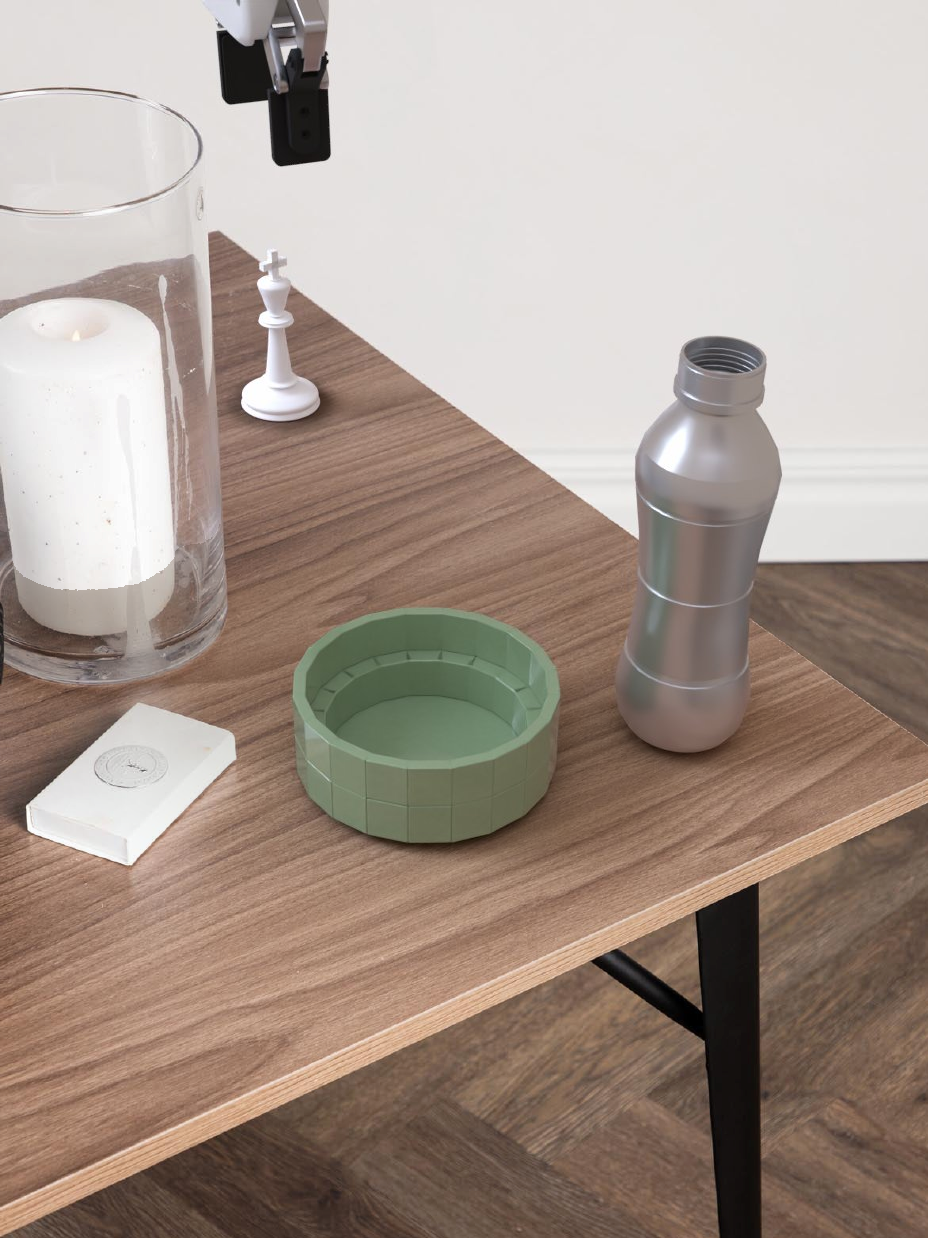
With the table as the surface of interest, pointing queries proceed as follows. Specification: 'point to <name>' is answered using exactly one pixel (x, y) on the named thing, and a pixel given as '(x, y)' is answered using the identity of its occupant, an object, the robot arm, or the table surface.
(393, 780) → the bowl
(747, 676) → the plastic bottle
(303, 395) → the chess piece
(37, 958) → the table surface
